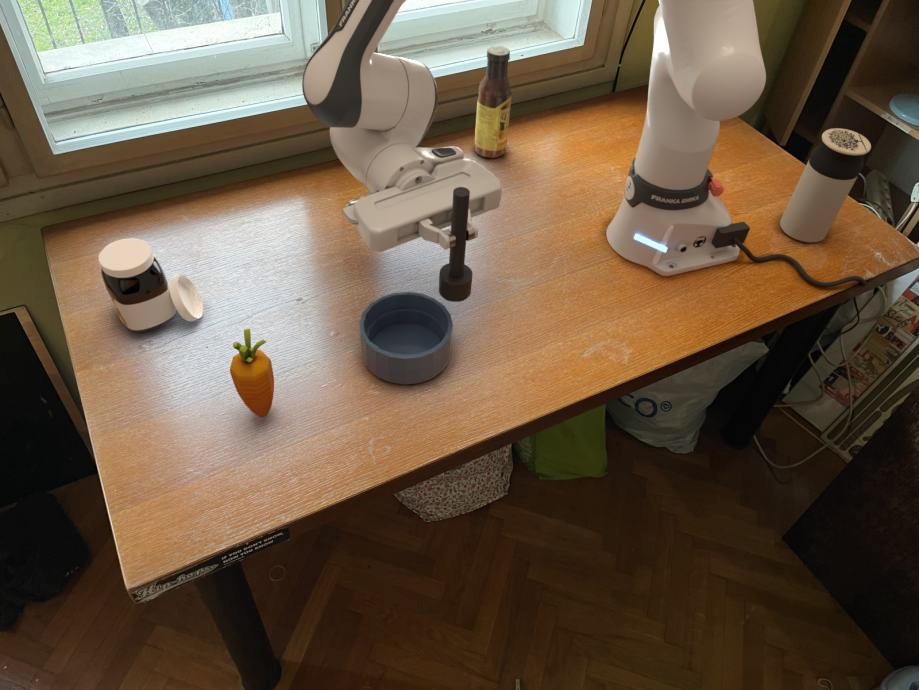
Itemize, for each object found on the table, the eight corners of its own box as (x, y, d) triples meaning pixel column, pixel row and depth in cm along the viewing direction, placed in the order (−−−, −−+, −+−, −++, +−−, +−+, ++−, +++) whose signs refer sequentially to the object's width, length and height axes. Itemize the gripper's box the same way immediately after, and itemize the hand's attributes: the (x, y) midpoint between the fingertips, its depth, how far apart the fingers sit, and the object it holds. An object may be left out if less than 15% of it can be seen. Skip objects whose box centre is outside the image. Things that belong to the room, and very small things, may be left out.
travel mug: (779, 238, 126) (822, 148, 113) (778, 212, 131) (819, 123, 118) (826, 248, 125) (875, 158, 112) (823, 221, 130) (870, 132, 117)
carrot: (257, 396, 97) (237, 318, 86) (289, 408, 96) (273, 330, 85) (236, 423, 94) (212, 345, 83) (268, 436, 93) (249, 359, 82)
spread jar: (110, 305, 107) (83, 244, 99) (183, 276, 112) (164, 216, 104) (140, 354, 101) (114, 293, 93) (216, 321, 106) (198, 261, 98)
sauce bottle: (502, 162, 138) (513, 62, 124) (470, 157, 139) (477, 57, 124) (508, 144, 143) (518, 45, 128) (477, 139, 143) (484, 40, 129)
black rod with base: (468, 278, 99) (476, 179, 87) (473, 300, 96) (483, 201, 85) (436, 280, 99) (440, 181, 87) (441, 303, 96) (446, 203, 84)
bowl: (444, 317, 109) (445, 288, 105) (457, 382, 100) (459, 353, 96) (359, 324, 107) (356, 295, 103) (365, 391, 99) (363, 362, 94)
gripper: (334, 186, 91) (390, 247, 83) (467, 142, 99) (528, 194, 92) (338, 226, 96) (391, 287, 88) (464, 181, 104) (523, 233, 97)
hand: (462, 239), depth 90 cm, fingers closed on black rod with base, 2 cm apart
